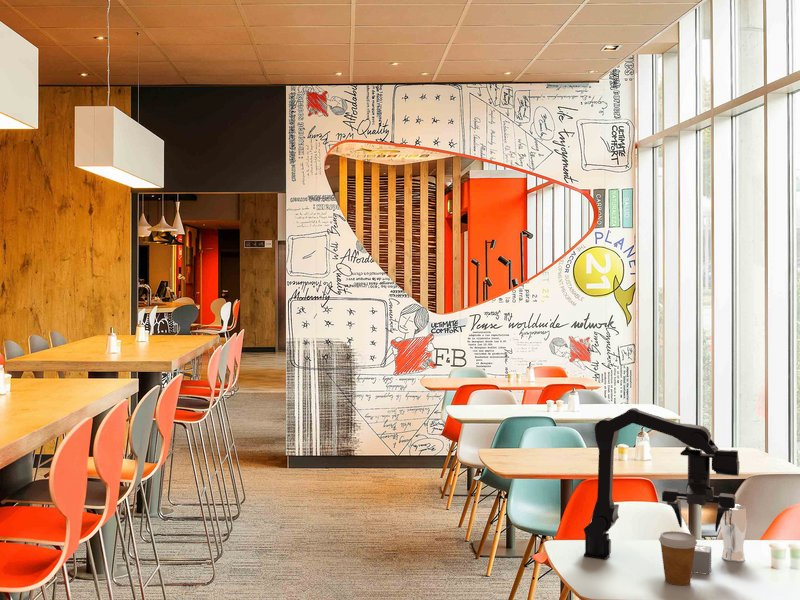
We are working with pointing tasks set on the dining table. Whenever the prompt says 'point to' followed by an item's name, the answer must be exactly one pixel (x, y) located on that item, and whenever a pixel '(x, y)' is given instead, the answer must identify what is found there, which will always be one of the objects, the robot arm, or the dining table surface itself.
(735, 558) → the beer glass
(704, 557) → the grey cube
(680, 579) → the disposable coffee cup
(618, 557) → the dining table surface
